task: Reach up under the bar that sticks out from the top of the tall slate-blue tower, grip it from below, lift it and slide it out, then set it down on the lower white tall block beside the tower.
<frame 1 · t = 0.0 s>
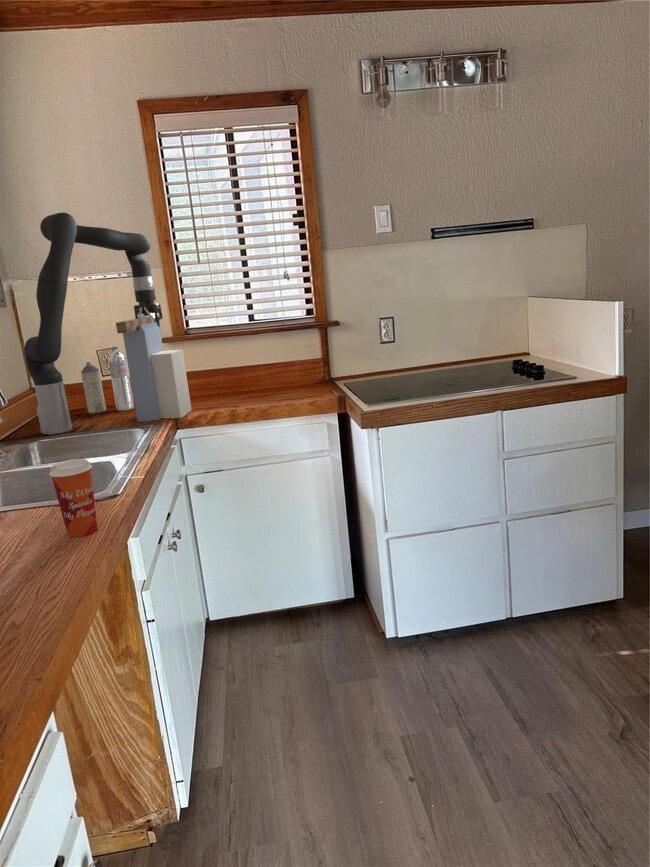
hand: (150, 331, 250), 29 cm above the worktop, tool pointing down, fingers open, 8 cm apart
water bottle: (125, 410, 253), on the worktop
tower: (155, 416, 232), on the worktop
white tall block: (176, 415, 232), on the worktop
paper cup: (83, 532, 125), on the worktop
bar: (136, 329, 221), point 32 cm above the worktop, touching tower
aerosol can: (97, 412, 254), on the worktop
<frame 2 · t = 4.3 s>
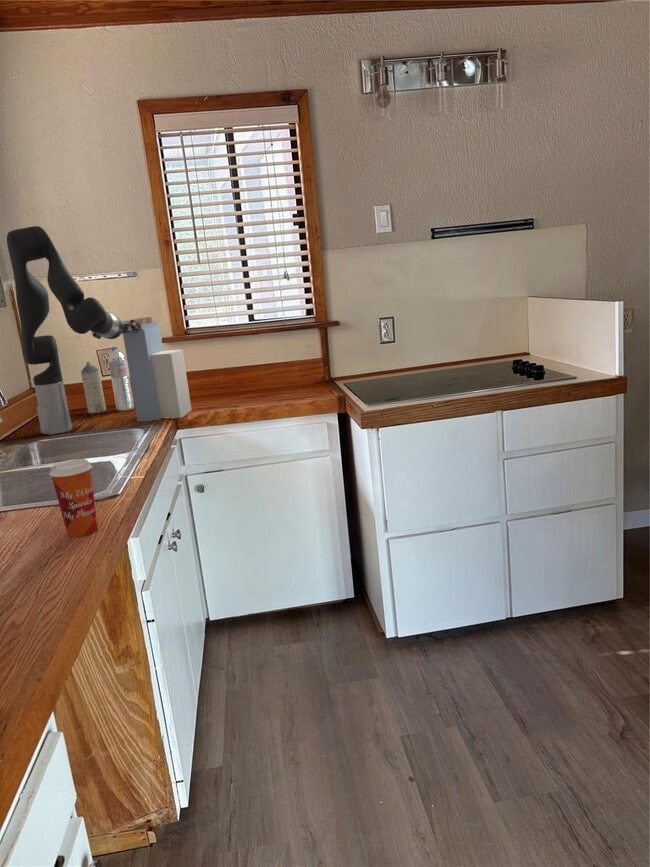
hand: (123, 332, 209), 32 cm above the worktop, tool horizontal, fingers open, 8 cm apart
nothing on the worktop moved.
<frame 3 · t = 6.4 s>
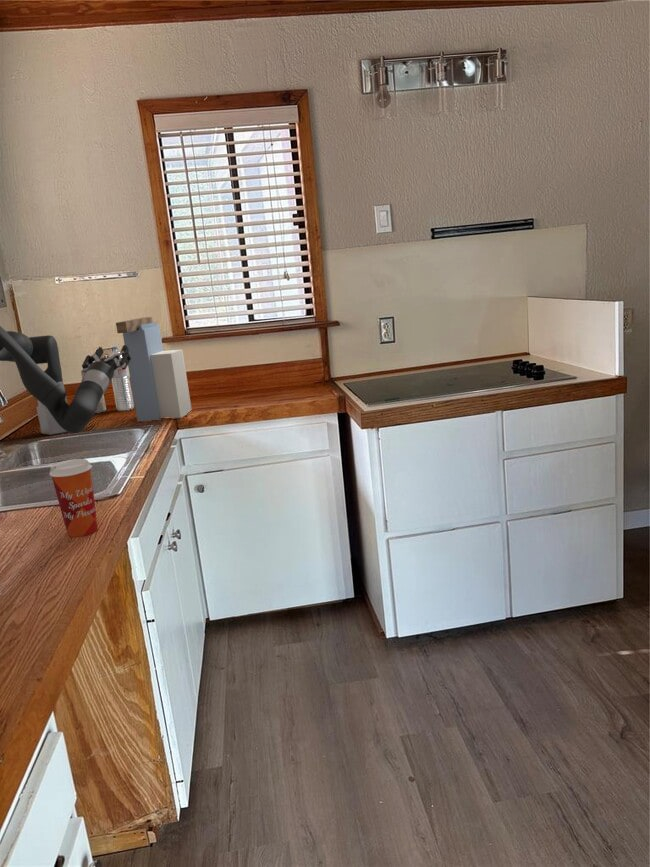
hand: (113, 348, 204), 28 cm above the worktop, tool pointing upward, fingers open, 8 cm apart
nothing on the worktop moved.
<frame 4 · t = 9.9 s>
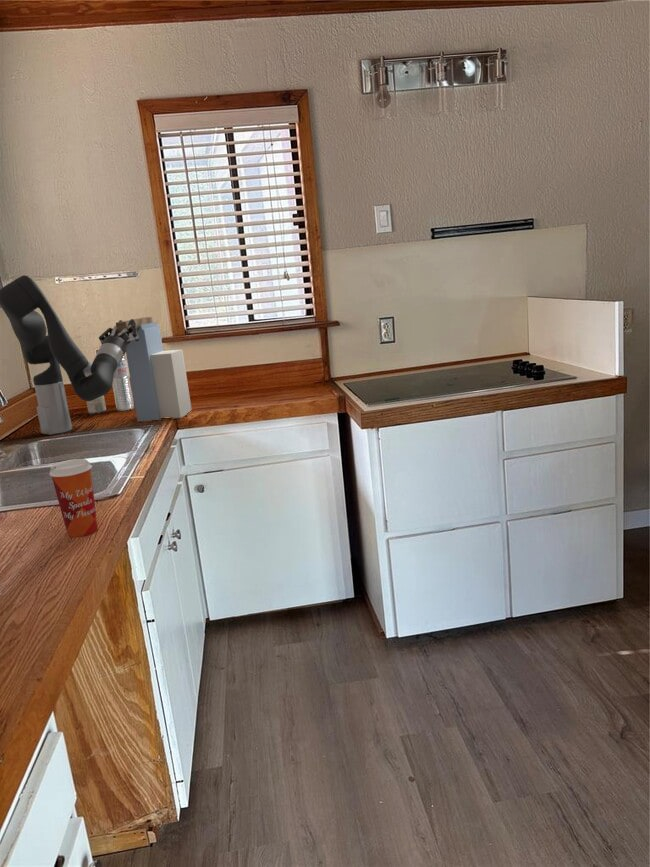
hand: (127, 322, 215), 35 cm above the worktop, tool pointing upward, fingers closed on bar, 3 cm apart
bar: (136, 329, 221), point 32 cm above the worktop, touching gripper, tower
everything else where it was.
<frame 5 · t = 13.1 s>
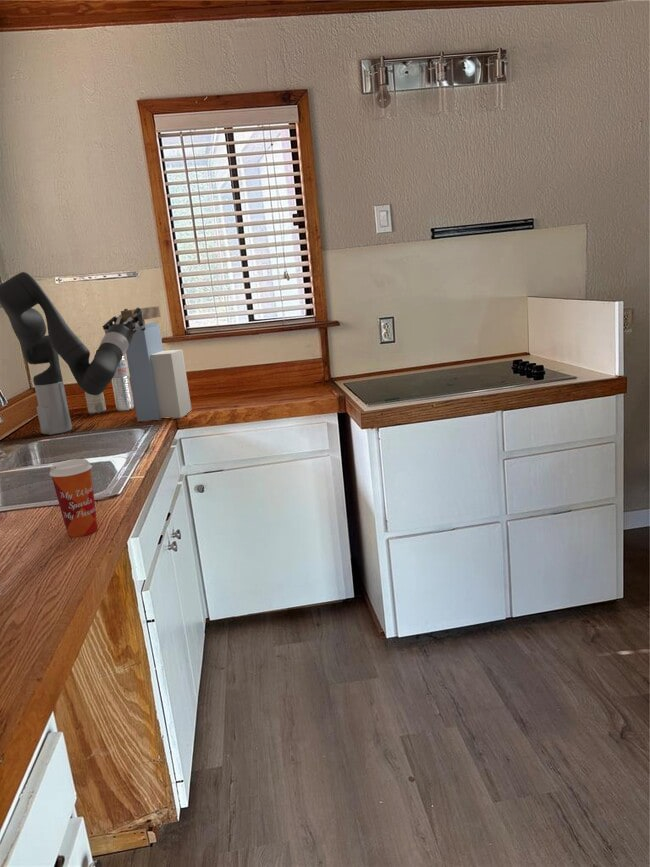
hand: (133, 310, 202), 39 cm above the worktop, tool pointing upward, fingers closed on bar, 3 cm apart
bar: (142, 319, 208), point 36 cm above the worktop, touching gripper
everything else where it was.
when the fingers open (28 cm above the worktop, at t = 16.5 s): bar drops 2 cm, resting on white tall block.
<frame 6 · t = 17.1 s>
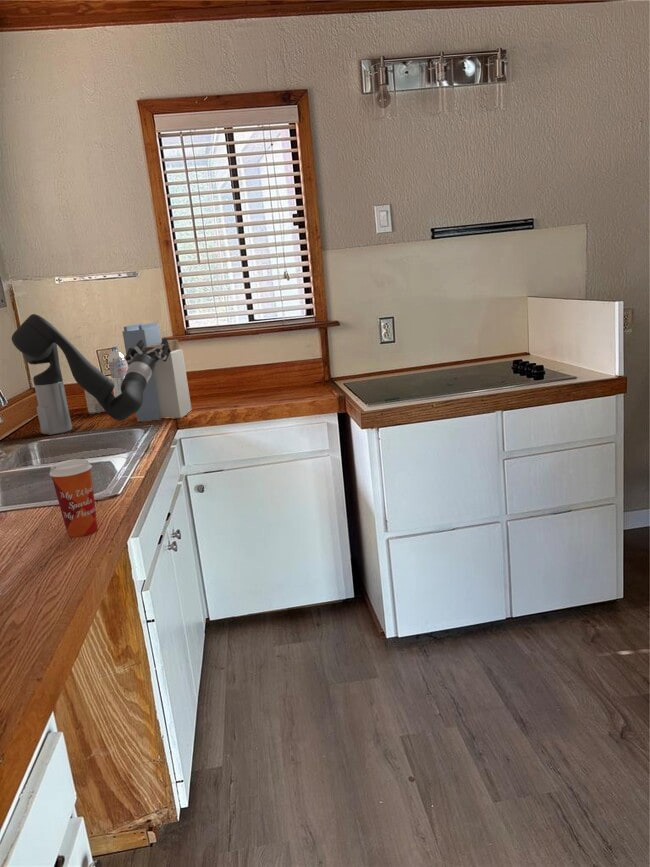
hand: (153, 341, 216), 28 cm above the worktop, tool pointing upward, fingers open, 8 cm apart
bar: (163, 353, 223), point 23 cm above the worktop, touching white tall block
everything else where it was.
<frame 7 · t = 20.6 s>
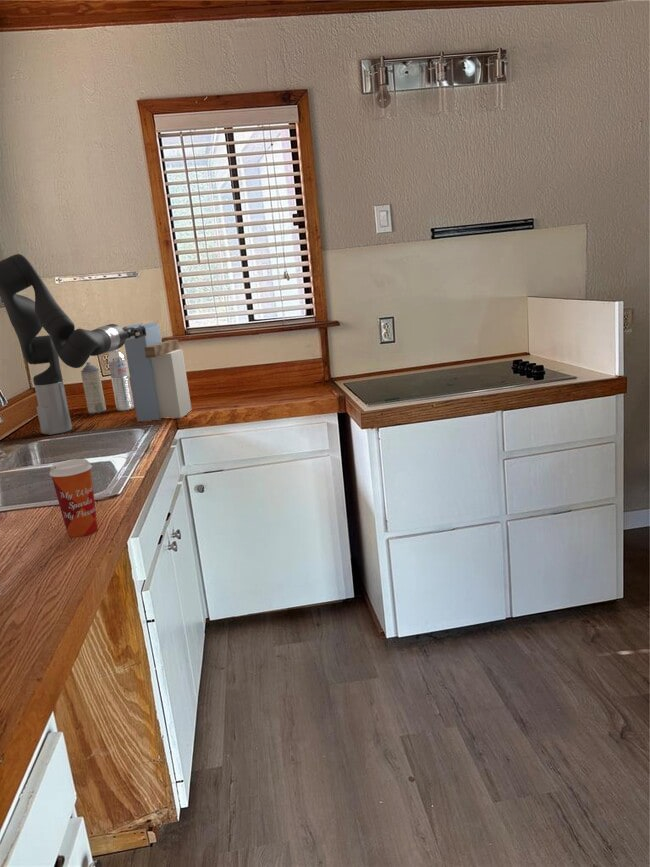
hand: (131, 330, 202), 33 cm above the worktop, tool horizontal, fingers open, 8 cm apart
nothing on the worktop moved.
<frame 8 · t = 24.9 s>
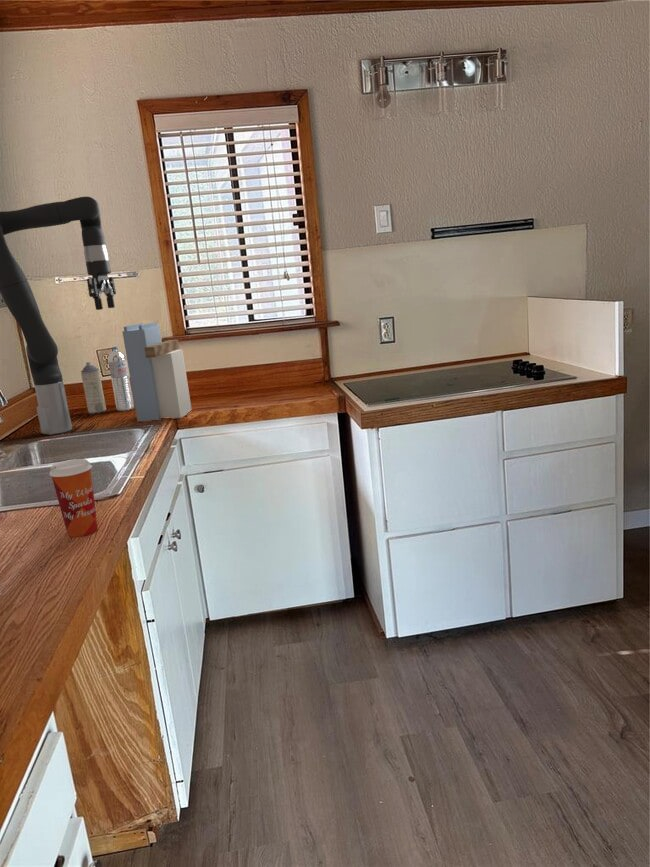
hand: (105, 308, 218), 40 cm above the worktop, tool pointing down, fingers open, 8 cm apart
nothing on the worktop moved.
at the end: bar inside the target area on the white tall block (0.7 cm from its centre), point 23.0 cm above the white tall block's base; bar touching white tall block; the gripper is holding nothing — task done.
